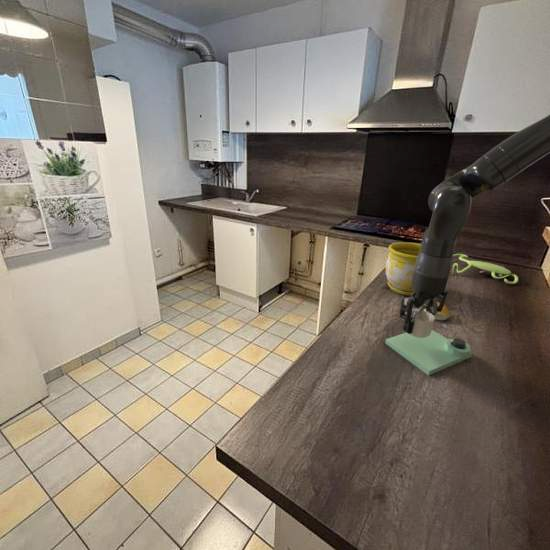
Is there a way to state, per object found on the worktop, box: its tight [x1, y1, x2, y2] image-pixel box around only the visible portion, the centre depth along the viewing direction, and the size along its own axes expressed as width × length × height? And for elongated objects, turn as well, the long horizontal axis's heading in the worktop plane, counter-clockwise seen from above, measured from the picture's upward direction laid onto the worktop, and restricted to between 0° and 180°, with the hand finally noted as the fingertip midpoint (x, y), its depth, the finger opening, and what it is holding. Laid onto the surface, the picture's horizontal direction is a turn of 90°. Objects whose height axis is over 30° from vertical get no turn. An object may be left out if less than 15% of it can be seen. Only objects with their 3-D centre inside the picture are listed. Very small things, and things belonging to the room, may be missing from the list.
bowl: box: [410, 308, 436, 338], centre depth 76 cm, size 6×6×5 cm
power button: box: [452, 337, 467, 349], centre depth 76 cm, size 3×3×2 cm
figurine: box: [451, 253, 519, 285], centre depth 129 cm, size 18×27×6 cm
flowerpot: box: [385, 241, 421, 297], centre depth 111 cm, size 18×18×16 cm
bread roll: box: [424, 302, 451, 322], centre depth 96 cm, size 8×9×4 cm
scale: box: [384, 329, 473, 376], centre depth 78 cm, size 16×14×3 cm
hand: (417, 328), depth 76 cm, fingers closed on bowl, 6 cm apart
